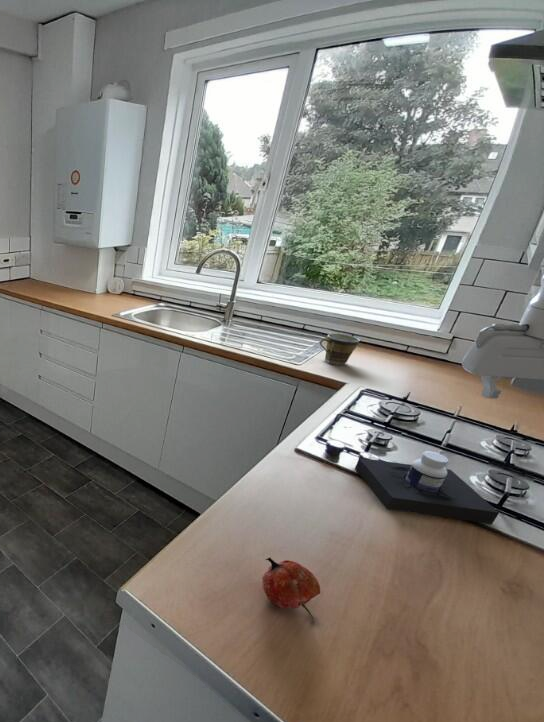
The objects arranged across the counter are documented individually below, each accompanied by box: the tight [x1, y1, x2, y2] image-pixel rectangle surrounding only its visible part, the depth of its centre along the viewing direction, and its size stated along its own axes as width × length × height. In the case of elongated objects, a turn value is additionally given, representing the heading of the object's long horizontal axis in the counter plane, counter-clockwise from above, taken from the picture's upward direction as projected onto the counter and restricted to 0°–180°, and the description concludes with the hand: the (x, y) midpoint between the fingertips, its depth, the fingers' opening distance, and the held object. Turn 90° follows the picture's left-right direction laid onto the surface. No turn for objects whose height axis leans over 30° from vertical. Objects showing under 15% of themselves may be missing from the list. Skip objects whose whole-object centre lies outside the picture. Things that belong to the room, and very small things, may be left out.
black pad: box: [354, 458, 500, 525], centre depth 87 cm, size 18×14×3 cm
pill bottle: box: [405, 450, 449, 493], centre depth 86 cm, size 5×5×10 cm
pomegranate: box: [261, 556, 321, 620], centre depth 63 cm, size 7×7×10 cm
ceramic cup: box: [319, 333, 361, 366], centre depth 155 cm, size 13×10×10 cm
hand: (520, 399), depth 74 cm, fingers open, 8 cm apart
